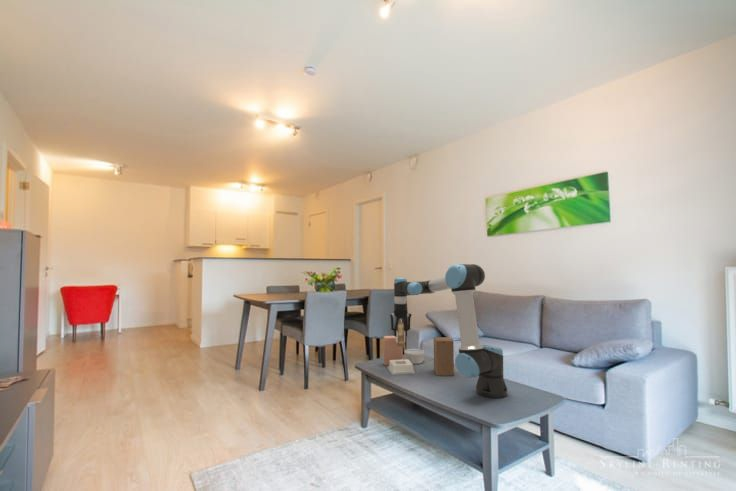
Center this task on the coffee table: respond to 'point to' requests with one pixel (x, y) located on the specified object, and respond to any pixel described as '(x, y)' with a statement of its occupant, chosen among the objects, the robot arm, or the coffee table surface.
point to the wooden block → (443, 356)
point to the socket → (400, 367)
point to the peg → (400, 334)
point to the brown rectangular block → (391, 350)
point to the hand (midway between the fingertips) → (400, 341)
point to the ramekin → (414, 355)
